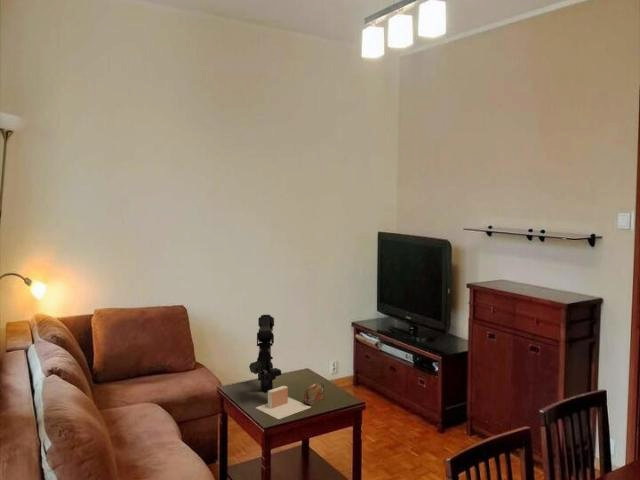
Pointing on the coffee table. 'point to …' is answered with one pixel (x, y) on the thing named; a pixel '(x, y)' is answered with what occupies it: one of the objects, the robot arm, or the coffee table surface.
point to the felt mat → (284, 409)
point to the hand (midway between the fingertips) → (265, 385)
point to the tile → (277, 397)
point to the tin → (314, 393)
